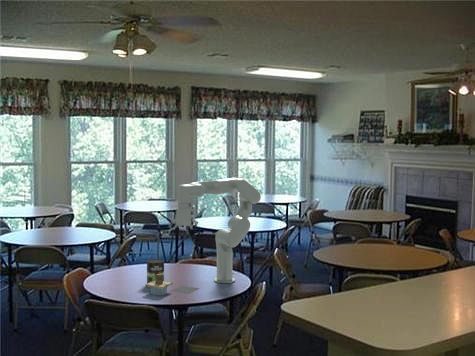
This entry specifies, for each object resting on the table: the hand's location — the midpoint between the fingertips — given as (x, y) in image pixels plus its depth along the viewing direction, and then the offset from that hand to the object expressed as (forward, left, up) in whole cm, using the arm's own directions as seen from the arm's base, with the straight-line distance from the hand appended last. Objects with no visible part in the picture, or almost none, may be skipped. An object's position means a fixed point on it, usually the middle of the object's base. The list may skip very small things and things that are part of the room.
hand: (184, 235), depth 327 cm
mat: (+6, +4, -30) cm, 31 cm away
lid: (+18, -6, -26) cm, 32 cm away
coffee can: (+3, -18, -31) cm, 36 cm away
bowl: (+18, -6, -30) cm, 36 cm away
